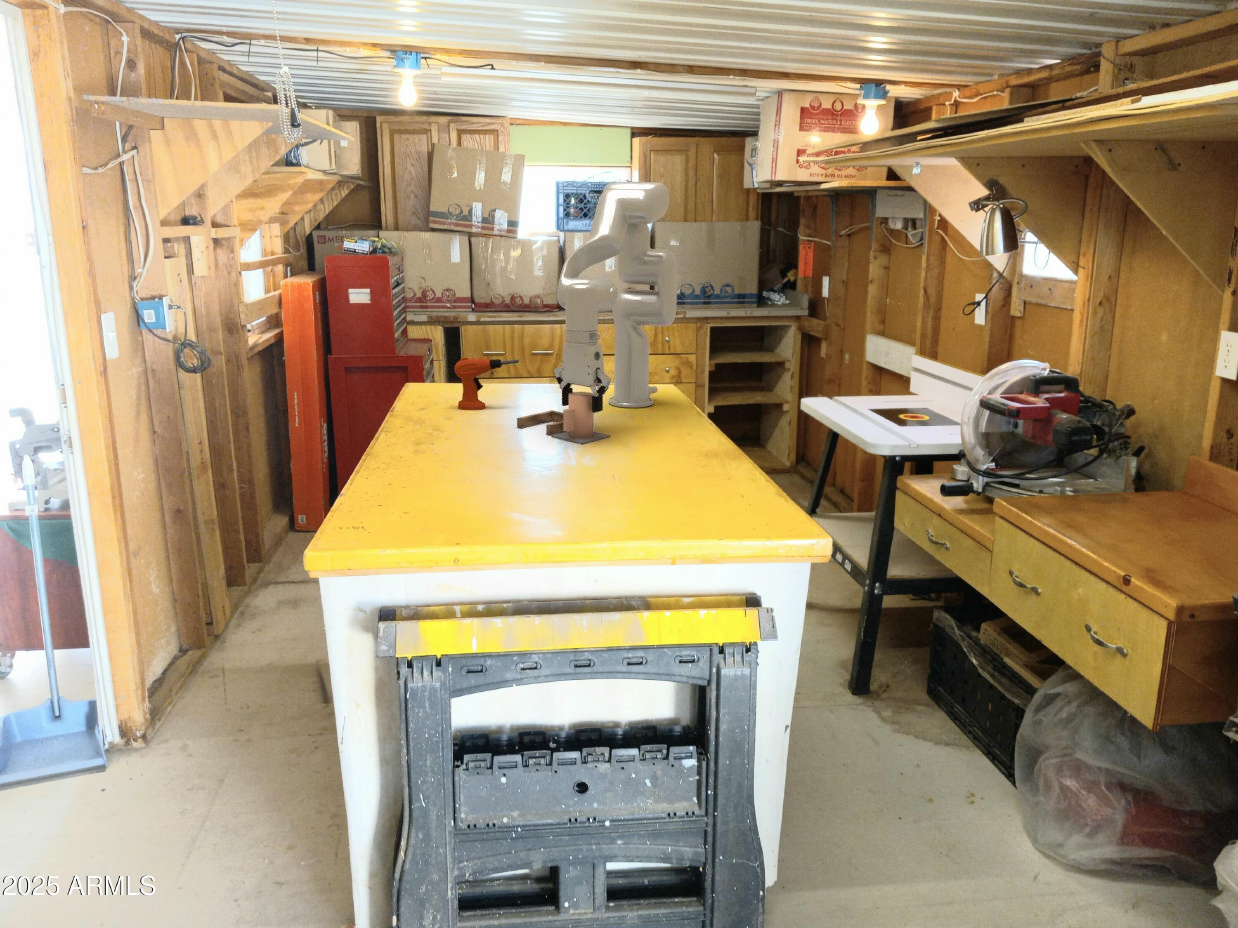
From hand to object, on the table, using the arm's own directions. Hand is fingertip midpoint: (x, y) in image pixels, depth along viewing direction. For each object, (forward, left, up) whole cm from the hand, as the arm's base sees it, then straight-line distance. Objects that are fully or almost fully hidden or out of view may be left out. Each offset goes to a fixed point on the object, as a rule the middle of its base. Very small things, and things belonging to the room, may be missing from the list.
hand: (582, 408), depth 219 cm
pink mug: (+2, 0, -6) cm, 7 cm away
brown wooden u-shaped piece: (-1, -12, -7) cm, 14 cm away
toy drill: (-5, -40, -7) cm, 41 cm away
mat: (+1, 0, -7) cm, 7 cm away
